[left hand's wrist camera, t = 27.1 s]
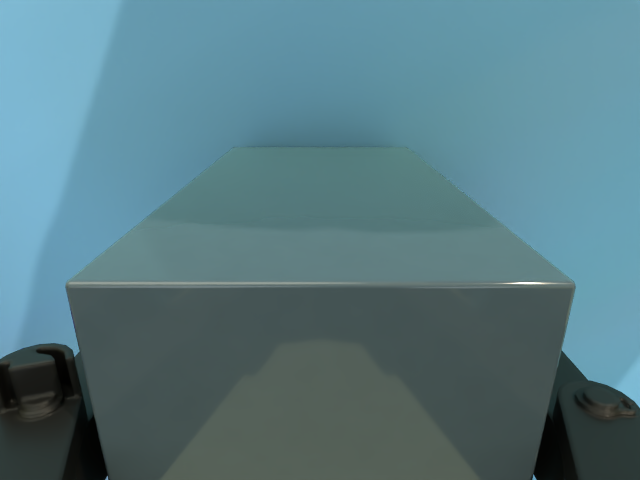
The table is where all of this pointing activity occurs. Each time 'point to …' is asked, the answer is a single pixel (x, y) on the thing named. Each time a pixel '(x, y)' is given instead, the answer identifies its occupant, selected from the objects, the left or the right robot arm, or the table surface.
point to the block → (320, 327)
